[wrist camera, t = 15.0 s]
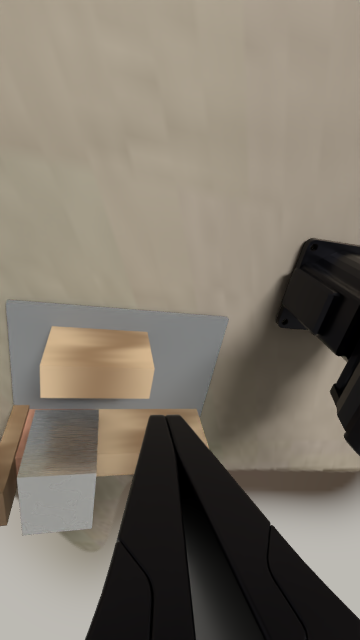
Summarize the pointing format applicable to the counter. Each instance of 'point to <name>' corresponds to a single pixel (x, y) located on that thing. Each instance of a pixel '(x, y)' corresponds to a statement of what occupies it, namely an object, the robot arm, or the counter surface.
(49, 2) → the counter surface
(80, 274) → the counter surface
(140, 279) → the counter surface
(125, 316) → the mat
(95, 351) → the block
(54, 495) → the rough concrete cube
